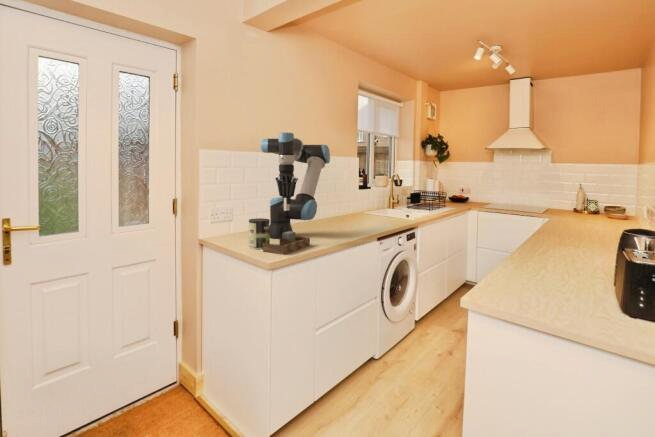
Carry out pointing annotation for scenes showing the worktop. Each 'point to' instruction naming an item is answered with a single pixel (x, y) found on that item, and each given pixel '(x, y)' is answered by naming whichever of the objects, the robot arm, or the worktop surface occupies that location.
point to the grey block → (288, 235)
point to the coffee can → (258, 233)
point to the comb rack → (287, 245)
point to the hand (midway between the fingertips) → (286, 210)
